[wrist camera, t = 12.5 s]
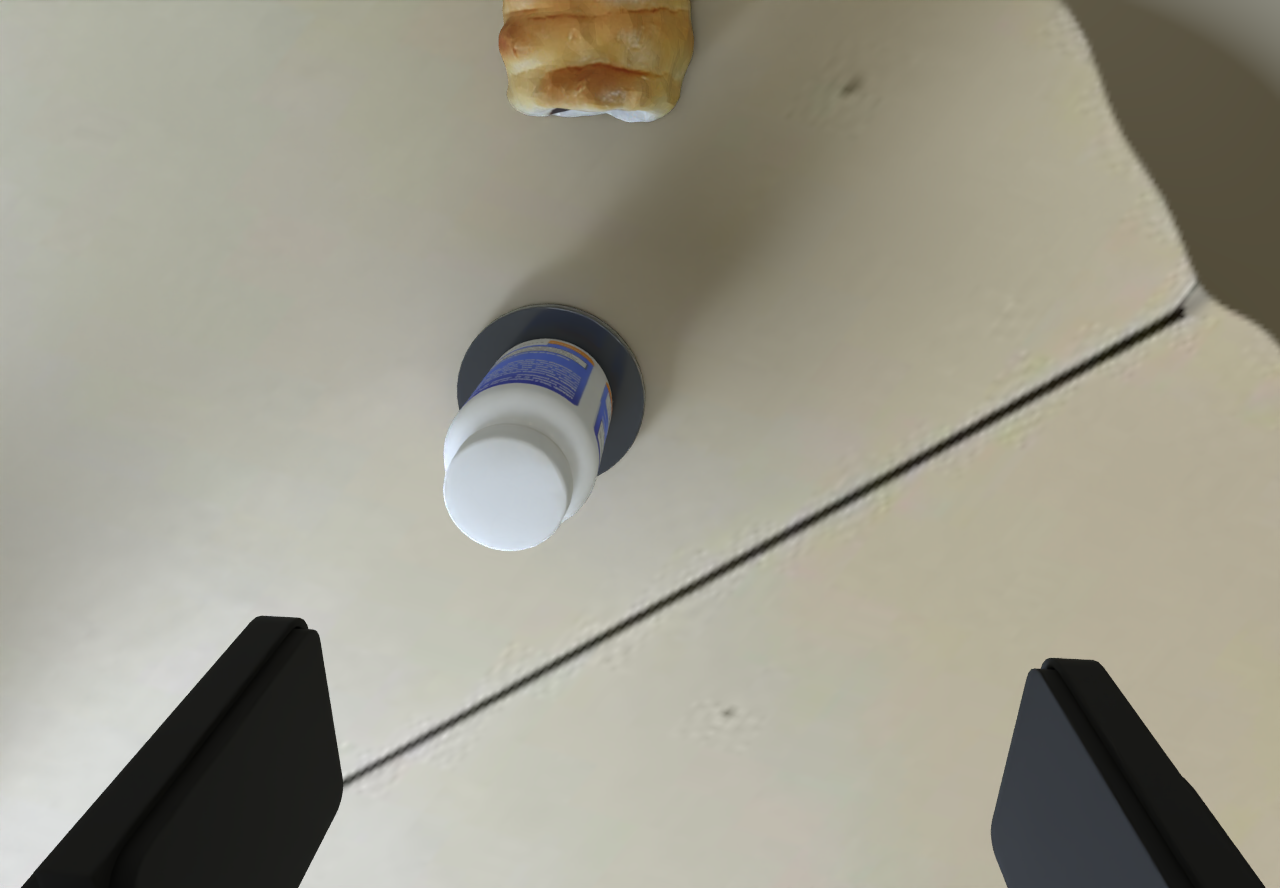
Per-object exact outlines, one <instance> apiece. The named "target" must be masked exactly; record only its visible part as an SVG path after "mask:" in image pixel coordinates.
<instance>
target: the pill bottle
mask: <svg viewBox="0 0 1280 888" xmlns="http://www.w3.org/2000/svg"><path fill="white" fill-rule="evenodd" d="M611 415H612V395H611V390H610V386H609V383H608V380H607V378H606V375H605V374H604V372H603V370H602V368H601V367H600V365H599V364H598V363H597V362H596V361H595V359H594V358H593V357H592V356H590V355H589V354H588V353H587V352H586V351H584V350H583V349H581V348H579V347H578V346H576V345H573V344H571V343H568V342H565V341H562V340H557V339H536V340H530V341H527V342H523V343H521V344H519V345H516V346H514V347H513V348H511V349H510V350H508V351H507V352H506V353H505V354H504V355H502V356H501V357H500V358H499V360H498V361H497V362H496V363H495V364H494V366H493V367H492V368H491V369H490V371H489V372H488V373H487V375H486V376H485V377H484V379H483V380H482V382H481V383H480V384H479V386H478V387H477V388H476V390H475V391H474V392H473V394H472V395H471V396H470V398H469V399H468V400H467V401H466V403H465V404H464V405H463V407H462V408H461V409H460V411H459V412H458V414H457V415H456V416H455V418H454V420H453V421H452V423H451V425H450V427H449V430H448V433H447V436H446V439H445V444H444V466H445V471H446V474H445V478H444V485H443V493H444V500H445V505H446V507H447V510H448V513H449V515H450V517H451V518H452V520H453V521H454V523H455V524H456V526H457V527H458V528H459V529H460V530H461V531H462V532H463V533H464V534H465V535H467V536H468V537H469V538H471V539H472V540H474V541H476V542H477V543H479V544H481V545H484V546H486V547H489V548H492V549H497V550H504V551H517V550H523V549H528V548H531V547H533V546H536V545H538V544H540V543H542V542H543V541H545V540H546V539H548V538H549V537H550V536H551V535H552V534H553V533H554V532H555V531H556V530H557V529H558V527H559V526H560V524H561V523H562V522H563V521H565V520H567V519H568V518H570V517H571V516H572V515H574V514H575V513H576V512H577V511H578V510H579V509H580V508H581V507H582V506H583V504H584V503H585V502H586V500H587V499H588V497H589V495H590V493H591V491H592V489H593V487H594V484H595V481H596V477H597V474H598V470H599V466H600V461H601V457H602V453H603V449H604V444H605V440H606V436H607V433H608V428H609V424H610V421H611Z"/></svg>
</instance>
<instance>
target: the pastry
mask: <svg viewBox="0 0 1280 888" xmlns="http://www.w3.org/2000/svg"><path fill="white" fill-rule="evenodd" d="M502 11H503V20H504V26H503V28H502V29H501V31H500V34H499V50H500V53H501V56H502V59H503V61H504V64H505V66H506V70H507V76H508V84H509V85H508V89H507V98H508V100H509V102H510V104H511V105H512V106H513V107H514V108H515V109H516V110H517V111H519V112H521V113H523V114H524V115H531V116H549V115H556V116H561V117H578V116H591V115H599V114H603V113H608V114H610V115H613V116H614V117H616V118H618V119H620V120H623V121H627V122H639V121H644V122H650V121H654V120H656V119H659V118H661V117H663V116H664V115H666V114H667V113H668V112H670V111H671V110H672V109H673V108H674V106H675V105H676V103H677V101H678V99H679V97H680V91H681V86H682V81H683V78H684V75H685V72H686V70H687V67H688V65H689V63H690V60H691V57H692V54H693V47H694V36H693V30H692V24H691V4H690V0H503V10H502Z"/></svg>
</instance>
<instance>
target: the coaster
mask: <svg viewBox="0 0 1280 888" xmlns="http://www.w3.org/2000/svg"><path fill="white" fill-rule="evenodd" d="M536 339H557V340H562V341H565V342H568V343H571V344H573V345H576V346H578V347H579V348H581V349H583V350H584V351H586V352H587V353H588V354H589V355H590V356H592V357H593V358H594V359H595V361H596V362H597V363H598V364H599V365H600V367H601V368H602V370H603V372H604V374H605V375H606V378H607V380H608V383H609V386H610V390H611V395H612V415H611V421H610V424H609V428H608V433H607V436H606V440H605V444H604V449H603V453H602V457H601V461H600V466H599V470H598V474H597V476H599V475H600V474H602V473H604V472H605V471H607V470H609V469H610V468H611V467H612V466H614V465H615V464H616V463H617V462H618V461H619V460H620V459H621V458H622V457H623V456H624V455H625V454H626V453H627V451H628V450H629V448H630V447H631V446H632V444H633V442H634V440H635V438H636V437H637V434H638V432H639V429H640V426H641V422H642V418H643V413H644V404H645V391H644V383H643V378H642V374H641V371H640V368H639V365H638V363H637V361H636V359H635V357H634V355H633V353H632V351H631V350H630V348H629V347H628V345H627V344H626V342H625V341H624V340H623V339H622V338H621V337H620V336H619V335H618V333H617V332H615V331H614V330H613V329H612V328H611V327H610V326H609V325H607V324H606V323H604V322H603V321H601V320H600V319H598V318H597V317H595V316H593V315H591V314H589V313H587V312H585V311H582V310H579V309H576V308H573V307H569V306H564V305H556V304H536V305H530V306H525V307H521V308H518V309H515V310H512V311H510V312H508V313H506V314H504V315H502V316H500V317H499V318H497V319H496V320H494V321H493V322H491V323H490V324H489V325H488V326H487V327H486V328H485V329H484V330H483V331H482V332H481V333H480V334H479V335H478V336H477V337H476V338H475V340H474V341H473V342H472V344H471V345H470V347H469V349H468V350H467V352H466V354H465V356H464V359H463V361H462V364H461V367H460V371H459V375H458V383H457V399H458V405H459V411H460V409H461V408H462V407H463V405H464V404H465V403H466V401H467V400H468V399H469V398H470V396H471V395H472V394H473V392H474V391H475V390H476V388H477V387H478V386H479V384H480V383H481V382H482V380H483V379H484V377H485V376H486V375H487V373H488V372H489V371H490V369H491V368H492V367H493V366H494V364H495V363H496V362H497V361H498V360H499V358H500V357H501V356H502V355H504V354H505V353H506V352H507V351H508V350H510V349H511V348H513V347H514V346H516V345H519V344H521V343H523V342H527V341H530V340H536Z"/></svg>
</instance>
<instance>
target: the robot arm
mask: <svg viewBox="0 0 1280 888" xmlns="http://www.w3.org/2000/svg"><path fill="white" fill-rule="evenodd" d="M342 793H343V778H342V772H341V766H340V760H339V753H338V747H337V741H336V735H335V729H334V722H333V716H332V710H331V704H330V698H329V692H328V685H327V679H326V673H325V667H324V661H323V654H322V648H321V642H320V637H319V634H318V633H317V631H316V630H312V629H308V626H307V624H306V622H305V621H304V620H303V619H301V618H293V617H274V616H259V617H256V618H255V619H253V620H252V621H251V622H250V623H249V624H248V626H247V627H246V628H245V629H244V630H243V631H242V633H241V634H240V635H239V636H238V637H237V638H236V639H235V641H234V642H233V643H232V644H231V645H230V646H229V648H228V649H227V650H226V651H225V652H224V653H223V654H222V656H221V657H220V658H219V659H218V660H217V661H216V663H215V664H214V665H213V666H212V667H211V668H210V670H209V671H208V672H207V673H206V674H205V675H204V676H203V678H202V679H201V680H200V681H199V682H198V683H197V685H196V686H195V687H194V688H193V689H192V690H191V691H190V693H189V694H188V695H187V696H186V697H185V698H184V700H183V701H182V702H181V703H180V704H179V705H178V706H177V708H176V709H175V710H174V711H173V712H172V713H171V715H170V716H169V717H168V718H167V719H166V720H165V721H164V723H163V724H162V725H161V726H160V727H159V728H158V730H157V731H156V732H155V733H154V734H153V735H152V736H151V738H150V739H149V740H148V741H147V742H146V743H145V745H144V746H143V747H142V748H141V749H140V750H139V751H138V753H137V754H136V755H135V756H134V757H133V758H132V760H131V761H130V762H129V763H128V764H127V765H126V766H125V768H124V769H123V770H122V771H121V772H120V773H119V775H118V776H117V777H116V778H115V779H114V780H113V781H112V783H111V784H110V785H109V786H108V787H107V788H106V790H105V791H104V792H103V793H102V794H101V795H100V796H99V798H98V799H97V800H96V801H95V802H94V803H93V805H92V806H91V807H90V808H89V809H88V810H87V811H86V813H85V814H84V815H83V816H82V817H81V818H80V820H79V821H78V822H77V823H76V824H75V825H74V826H73V828H72V829H71V830H70V831H69V832H68V833H67V835H66V836H65V837H64V838H63V839H62V840H61V841H60V843H59V844H58V845H57V846H56V847H55V848H54V850H53V851H52V852H51V853H50V854H49V855H48V857H47V858H46V859H45V860H44V861H43V862H42V863H41V865H40V866H39V867H38V868H37V869H36V870H35V872H34V873H33V874H32V875H31V877H30V878H29V879H28V880H27V881H26V882H25V884H24V885H23V886H22V887H21V888H298V887H299V885H300V883H301V881H302V879H303V877H304V875H305V873H306V871H307V869H308V867H309V865H310V864H311V862H312V860H313V858H314V856H315V854H316V852H317V850H318V848H319V846H320V844H321V842H322V840H323V838H324V836H325V834H326V832H327V830H328V828H329V826H330V824H331V822H332V821H333V819H334V817H335V815H336V813H337V810H338V808H339V805H340V802H341V798H342ZM991 839H992V846H993V850H994V853H995V857H996V859H997V862H998V864H999V867H1000V869H1001V872H1002V874H1003V877H1004V879H1005V882H1006V885H1007V887H1008V888H1265V886H1264V885H1263V883H1262V882H1261V881H1260V879H1259V878H1258V876H1257V875H1256V874H1255V872H1254V871H1253V870H1252V868H1251V867H1250V865H1249V864H1248V863H1247V861H1246V860H1245V859H1244V857H1243V856H1242V854H1241V853H1240V852H1239V850H1238V849H1237V847H1236V846H1235V845H1234V843H1233V842H1232V841H1231V839H1230V838H1229V836H1228V835H1227V834H1226V832H1225V831H1224V829H1223V828H1222V827H1221V825H1220V824H1219V823H1218V821H1217V820H1216V818H1215V817H1214V816H1213V814H1212V813H1211V811H1210V810H1209V809H1208V807H1207V806H1206V805H1205V803H1204V802H1203V800H1202V799H1201V798H1200V796H1199V795H1198V794H1197V792H1196V791H1195V789H1194V788H1193V787H1192V786H1191V785H1190V784H1189V783H1188V782H1187V781H1186V779H1185V778H1183V777H1182V776H1181V774H1180V773H1179V772H1178V770H1177V769H1176V767H1175V766H1174V765H1173V763H1172V762H1171V760H1170V759H1169V758H1168V756H1167V755H1166V754H1165V752H1164V751H1163V749H1162V748H1161V747H1160V745H1159V744H1158V742H1157V741H1156V740H1155V738H1154V737H1153V735H1152V734H1151V733H1150V731H1149V730H1148V728H1147V727H1146V726H1145V724H1144V723H1143V721H1142V720H1141V719H1140V717H1139V716H1138V715H1137V713H1136V712H1135V710H1134V709H1133V708H1132V706H1131V705H1130V703H1129V702H1128V701H1127V699H1126V698H1125V696H1124V695H1123V694H1122V692H1121V691H1120V689H1119V688H1118V687H1117V685H1116V684H1115V683H1114V681H1113V680H1112V678H1111V677H1110V676H1109V674H1108V673H1107V671H1106V670H1105V669H1104V667H1103V666H1102V665H1101V664H1100V663H1099V662H1097V661H1094V660H1081V659H1062V658H1049V659H1046V660H1045V661H1044V663H1043V664H1042V667H1041V669H1031V671H1030V672H1029V673H1028V676H1027V679H1026V683H1025V687H1024V691H1023V696H1022V700H1021V704H1020V708H1019V712H1018V716H1017V720H1016V724H1015V728H1014V733H1013V737H1012V741H1011V745H1010V749H1009V753H1008V757H1007V761H1006V766H1005V770H1004V774H1003V778H1002V782H1001V786H1000V790H999V794H998V799H997V803H996V807H995V811H994V815H993V819H992V825H991Z"/></svg>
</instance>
